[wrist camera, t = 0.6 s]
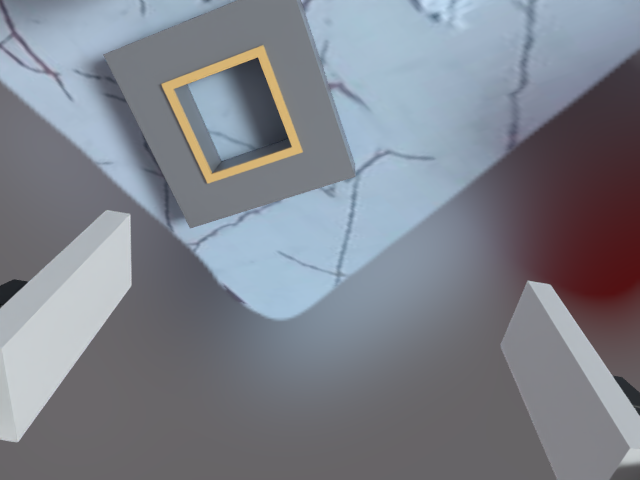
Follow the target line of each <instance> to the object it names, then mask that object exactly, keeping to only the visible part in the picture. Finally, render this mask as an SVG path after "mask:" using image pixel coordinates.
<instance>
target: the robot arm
mask: <svg viewBox="0 0 640 480" xmlns="http://www.w3.org/2000/svg"><path fill="white" fill-rule="evenodd" d="M130 235H131V229H130V214H127V213H121V212H115V211H109V210H106V211H105V212H104V213H103V214H102V215H101V216H99V217H98V218H97V219H96V220H95V221H94V222H93V223H92V224H91V225H90V226H89V227H88V228H87V229H85V230H84V231H83V232H82V233H81V234H80V235H79V236H78V237H77V238H76V239H75V240H74V241H72V242H71V243H70V244H69V245H68V246H67V247H66V248H65V249H64V250H63V251H62V252H61V253H60V254H58V255H57V256H56V257H55V258H54V259H53V260H52V261H51V262H50V263H49V264H48V265H46V267H44V268H43V269H42V270H41V271H40V272H39V273H38V274H37V275H36V276H35V277H34V278H32V279H31V280H30V281H29V282H27V281H21V280H12V281H9V282H7V283H5V284H3V285H1V286H0V439H1V440H7V441H13V442H18V441H19V440H20V438H21V437H22V436H23V434H24V433H25V432H26V430H27V429H28V427H29V426H30V425H31V423H32V422H33V421H34V419H35V418H36V416H37V415H38V414H39V412H40V411H41V409H42V408H43V407H44V405H45V404H46V403H47V401H48V400H49V398H50V397H51V396H52V394H53V393H54V392H55V390H56V389H57V387H58V386H59V385H60V383H61V382H62V381H63V379H64V378H65V376H66V375H67V374H68V372H69V371H70V370H71V368H72V367H73V365H74V364H75V363H76V361H77V360H78V358H79V357H80V356H81V354H82V353H83V352H84V350H85V349H86V347H87V346H88V345H89V343H90V342H91V340H92V339H93V338H94V336H95V335H96V334H97V332H98V331H99V329H100V328H101V327H102V325H103V324H104V323H105V321H106V320H107V318H108V317H109V316H110V314H111V313H112V312H113V310H114V309H115V307H116V306H117V305H118V303H119V302H120V301H121V299H122V298H123V296H124V295H125V294H126V292H127V291H128V289H129V288H130V287H131V236H130ZM500 347H501V349H502V351H503V354H504V356H505V358H506V361H507V363H508V365H509V367H510V370H511V372H512V375H513V377H514V379H515V382H516V384H517V387H518V389H519V391H520V393H521V396H522V398H523V401H524V403H525V405H526V407H527V410H528V412H529V415H530V417H531V419H532V422H533V424H534V426H535V429H536V431H537V434H538V436H539V438H540V441H541V443H542V445H543V448H544V450H545V452H546V454H547V457H548V459H549V462H550V464H551V466H552V469H553V471H554V473H555V476H556V478H557V480H640V393H639V392H638V391H637V390H636V389H635V388H634V387H633V386H631V385H630V384H629V383H628V382H627V381H626V380H625V379H623V378H622V377H618V376H612V375H611V373H610V372H609V370H608V369H607V367H606V366H605V364H604V363H603V361H602V360H601V358H600V357H599V355H598V354H597V353H596V351H595V350H594V348H593V347H592V345H591V344H590V342H589V341H588V339H587V338H586V336H585V335H584V333H583V332H582V331H581V329H580V328H579V326H578V325H577V323H576V322H575V320H574V319H573V317H572V316H571V314H570V313H569V311H568V310H567V309H566V307H565V306H564V304H563V303H562V301H561V300H560V298H559V297H558V295H557V294H556V292H555V291H554V290H553V288H552V286H551V285H550V284H543V283H537V282H532V281H527V284H526V286H525V288H524V291H523V293H522V295H521V298H520V300H519V302H518V305H517V307H516V310H515V312H514V314H513V317H512V319H511V321H510V324H509V326H508V329H507V331H506V333H505V336H504V338H503V340H502V343H501V345H500Z"/></svg>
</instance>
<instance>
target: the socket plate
mask: <svg viewBox="0 0 640 480" xmlns="http://www.w3.org/2000/svg"><path fill="white" fill-rule="evenodd" d="M104 57H105V59H106V61H107V63H108V65H109V67H110V69H111V71H112V73H113V75H114V77H115V79H116V81H117V83H118V85H119V87H120V89H121V91H122V93H123V95H124V97H125V99H126V101H127V103H128V105H129V107H130V109H131V111H132V113H133V115H134V117H135V119H136V121H137V123H138V125H139V127H140V129H141V131H142V133H143V135H144V137H145V139H146V141H147V143H148V145H149V147H150V149H151V151H152V153H153V155H154V157H155V159H156V161H157V163H158V165H159V167H160V169H161V171H162V173H163V175H164V177H165V179H166V181H167V183H168V185H169V187H170V189H171V191H172V193H173V195H174V197H175V199H176V201H177V203H178V205H179V207H180V209H181V211H182V213H183V215H184V217H185V219H186V221H187V223H188V225H189V227H190V228H193V227H196V226H199V225H203V224H206V223H209V222H212V221H215V220H218V219H222V218H225V217H228V216H231V215H234V214H238V213H241V212H244V211H247V210H250V209H254V208H257V207H260V206H263V205H266V204H269V203H273V202H276V201H279V200H282V199H285V198H289V197H292V196H295V195H298V194H301V193H305V192H308V191H311V190H314V189H317V188H320V187H324V186H327V185H330V184H333V183H336V182H340V181H343V180H346V179H349V178H352V177H355V163H354V160H353V157H352V154H351V151H350V148H349V145H348V142H347V139H346V136H345V133H344V130H343V127H342V124H341V121H340V118H339V115H338V112H337V109H336V106H335V103H334V100H333V96H332V93H331V90H330V87H329V84H328V81H327V78H326V75H325V72H324V69H323V66H322V63H321V60H320V57H319V54H318V51H317V48H316V45H315V42H314V39H313V36H312V33H311V30H310V27H309V24H308V21H307V18H306V15H305V12H304V9H303V6H302V3H301V0H237V1H235V2H232V3H230V4H227V5H225V6H222V7H220V8H217V9H215V10H212V11H210V12H208V13H205V14H203V15H200V16H198V17H195V18H193V19H190V20H188V21H185V22H183V23H180V24H178V25H175V26H173V27H170V28H168V29H166V30H163V31H161V32H158V33H156V34H153V35H151V36H148V37H146V38H143V39H141V40H138V41H136V42H133V43H131V44H128V45H126V46H123V47H121V48H119V49H116V50H114V51H111V52H109V53H106V54H104ZM257 57H258V59H259V61H260V64H261V67H262V69H263V72H264V75H265V77H266V80H267V82H268V85H269V88H270V90H271V93H272V96H273V98H274V101H275V104H276V106H277V109H278V111H279V114H280V117H281V119H282V122H283V125H284V127H285V130H286V133H287V135H288V138H289V139H287V140H284V141H281V142H278V143H275V144H272V145H269V146H266V147H263V148H260V149H257V150H254V151H251V152H248V153H245V154H242V155H239V156H236V157H233V158H231V159H228V160H225V161H222V162H221V159H220V157H219V155H218V153H217V150H216V148H215V146H214V144H213V141H212V139H211V137H210V135H209V132H208V130H207V128H206V126H205V123H204V121H203V119H202V117H201V114H200V112H199V110H198V108H197V105H196V103H195V101H194V99H193V96H192V94H191V92H190V90H189V87H188V85H187V84H188V83H191V82H194V81H196V80H199V79H202V78H204V77H207V76H210V75H212V74H215V73H218V72H220V71H223V70H226V69H228V68H231V67H233V66H236V65H239V64H241V63H244V62H247V61H249V60H252V59H255V58H257Z"/></svg>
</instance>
